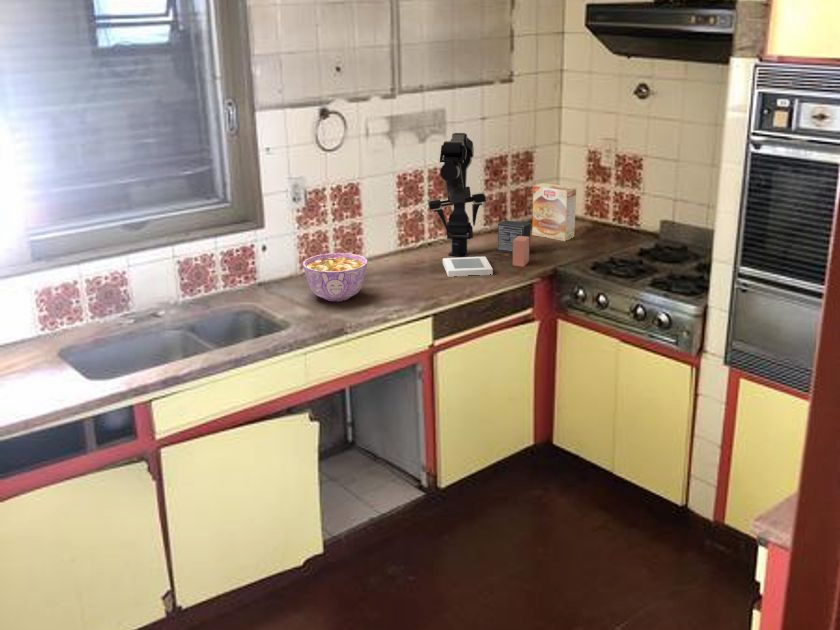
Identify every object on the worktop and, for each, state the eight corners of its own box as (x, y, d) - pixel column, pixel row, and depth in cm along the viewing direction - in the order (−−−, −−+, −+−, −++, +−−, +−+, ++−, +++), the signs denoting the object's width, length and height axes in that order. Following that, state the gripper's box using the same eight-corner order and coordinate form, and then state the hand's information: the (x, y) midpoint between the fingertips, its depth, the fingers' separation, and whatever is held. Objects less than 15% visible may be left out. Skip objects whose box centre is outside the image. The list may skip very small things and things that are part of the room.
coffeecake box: (531, 235, 356) (532, 185, 349) (541, 231, 361) (543, 182, 354) (564, 241, 346) (567, 190, 340) (574, 237, 352) (577, 187, 345)
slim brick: (517, 260, 325) (518, 235, 321) (528, 261, 323) (529, 236, 320) (512, 265, 319) (513, 240, 316) (523, 266, 318) (524, 241, 315)
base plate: (442, 263, 322) (442, 257, 321) (485, 261, 323) (485, 255, 323) (448, 276, 308) (448, 270, 307) (492, 274, 309) (492, 268, 309)
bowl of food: (335, 312, 277) (333, 275, 273) (291, 298, 289) (289, 263, 285) (381, 296, 291) (380, 260, 286) (338, 283, 303) (337, 249, 299)
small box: (530, 250, 336) (531, 222, 332) (522, 255, 331) (523, 226, 327) (505, 246, 341) (505, 219, 337) (496, 251, 336) (497, 223, 332)
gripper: (426, 184, 295) (433, 233, 297) (484, 176, 295) (490, 224, 298) (425, 184, 306) (432, 231, 308) (481, 176, 306) (487, 223, 309)
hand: (460, 227), depth 306 cm, fingers open, 9 cm apart
